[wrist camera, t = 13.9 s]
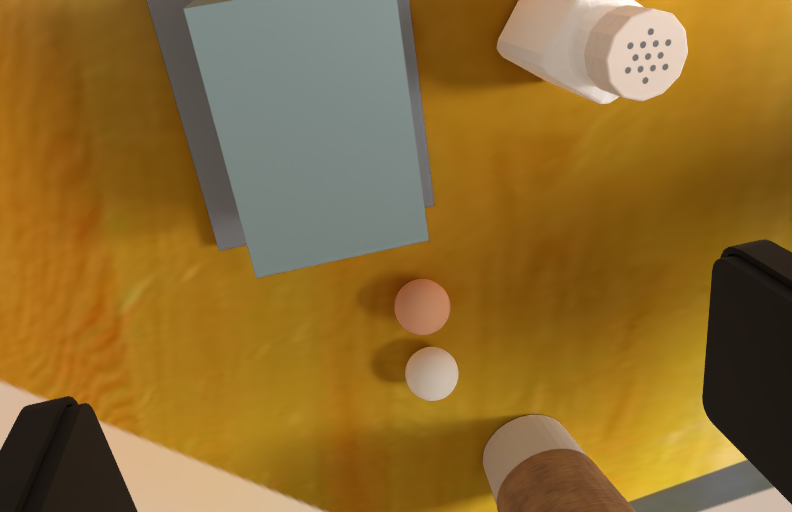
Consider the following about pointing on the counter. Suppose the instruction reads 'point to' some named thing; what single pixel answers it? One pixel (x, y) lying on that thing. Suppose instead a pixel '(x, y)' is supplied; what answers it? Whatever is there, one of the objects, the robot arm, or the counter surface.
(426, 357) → the cream ball
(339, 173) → the sage green block
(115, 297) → the counter surface
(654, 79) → the pepper shaker
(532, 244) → the counter surface
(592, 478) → the coffee cup
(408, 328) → the terracotta ball
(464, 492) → the counter surface
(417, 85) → the plate
